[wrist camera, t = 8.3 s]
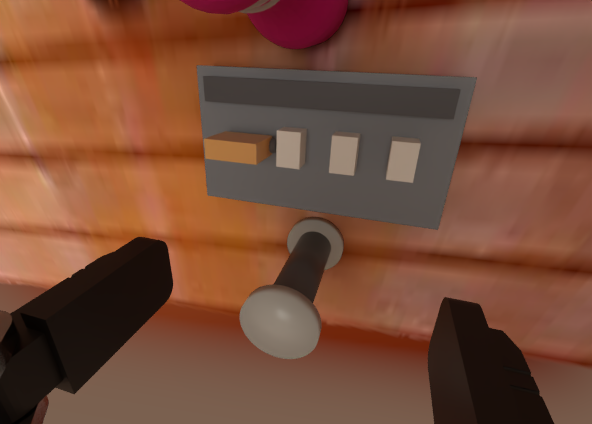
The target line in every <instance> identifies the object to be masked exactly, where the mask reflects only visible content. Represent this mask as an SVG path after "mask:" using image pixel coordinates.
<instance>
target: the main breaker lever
mask: <svg viewBox="0 0 592 424" xmlns="http://www.w3.org/2000/svg"><path fill="white" fill-rule="evenodd" d="M204 147H205V159H212V160H220V161H229V162H237V163H245V164H254V165H257V164H258V163H260V162H261V161H263V160H264V159H266V158H267V157H269V156H270V155H272V153H276V147H277V139H273V138H272V136H270V135H260V134H249V133H239V132H228V131H225V132H222V133H219V134H216V135H213V136H210V137H207V138H205V139H204Z"/></svg>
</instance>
